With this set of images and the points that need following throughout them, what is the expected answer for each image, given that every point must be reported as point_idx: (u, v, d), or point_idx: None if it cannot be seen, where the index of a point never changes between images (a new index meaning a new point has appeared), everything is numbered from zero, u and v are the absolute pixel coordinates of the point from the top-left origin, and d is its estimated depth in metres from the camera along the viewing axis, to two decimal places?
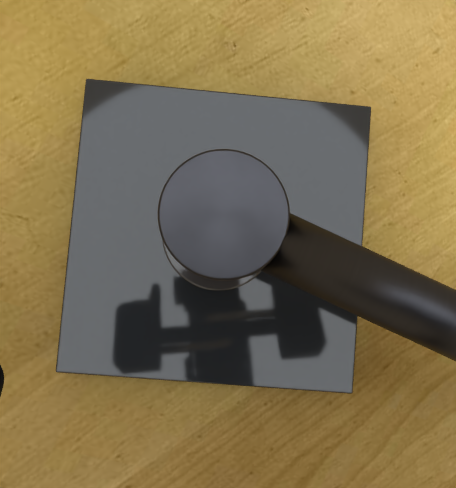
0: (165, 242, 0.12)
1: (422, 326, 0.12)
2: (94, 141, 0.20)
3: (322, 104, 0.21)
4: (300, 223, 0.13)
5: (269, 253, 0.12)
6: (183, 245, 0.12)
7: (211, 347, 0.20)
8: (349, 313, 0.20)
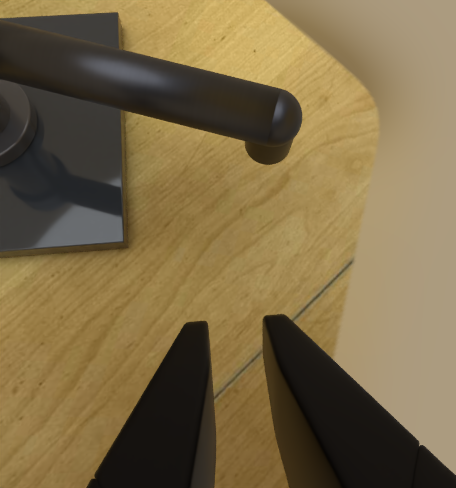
0: None
1: (40, 59, 0.15)
2: None
3: (75, 15, 0.25)
4: None
5: None
6: None
7: None
8: (113, 172, 0.22)
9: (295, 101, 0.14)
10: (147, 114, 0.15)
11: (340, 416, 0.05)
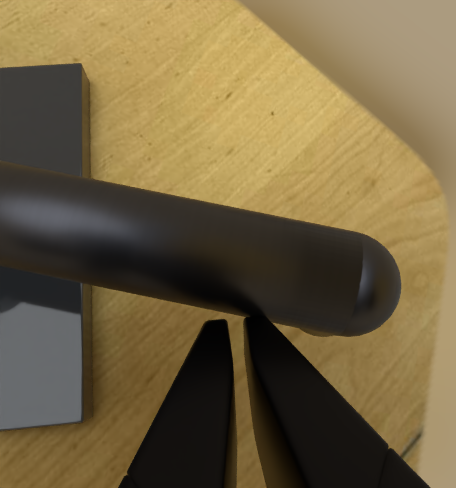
0: None
1: None
2: None
3: (21, 68, 0.18)
4: None
5: None
6: None
7: None
8: (70, 309, 0.15)
9: (391, 262, 0.08)
10: (110, 288, 0.08)
11: (311, 418, 0.05)
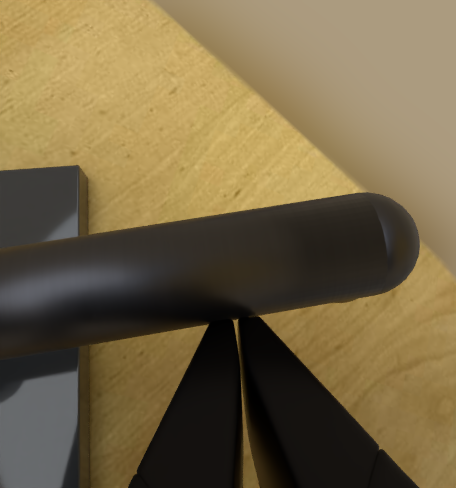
0: None
1: None
2: None
3: (13, 172, 0.16)
4: None
5: None
6: None
7: None
8: (65, 454, 0.14)
9: (402, 209, 0.08)
10: None
11: (303, 420, 0.05)
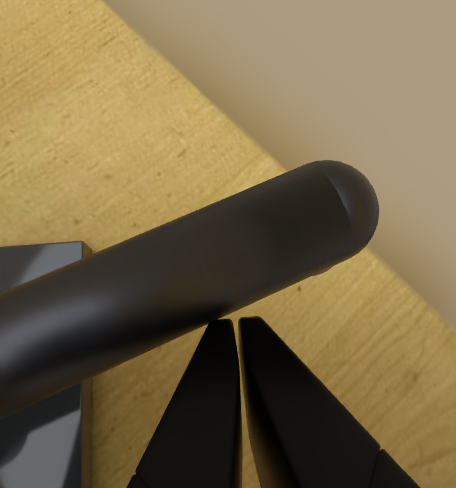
0: None
1: None
2: None
3: (13, 249, 0.15)
4: None
5: None
6: None
7: None
8: None
9: (352, 169, 0.08)
10: (133, 357, 0.08)
11: (304, 419, 0.05)
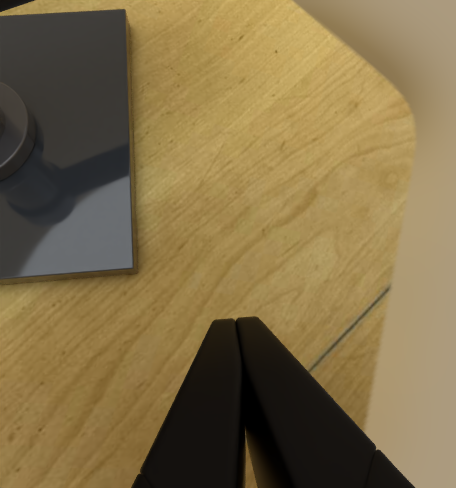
0: None
1: None
2: None
3: (78, 13, 0.22)
4: None
5: None
6: None
7: None
8: (121, 189, 0.20)
9: None
10: None
11: (300, 420, 0.05)
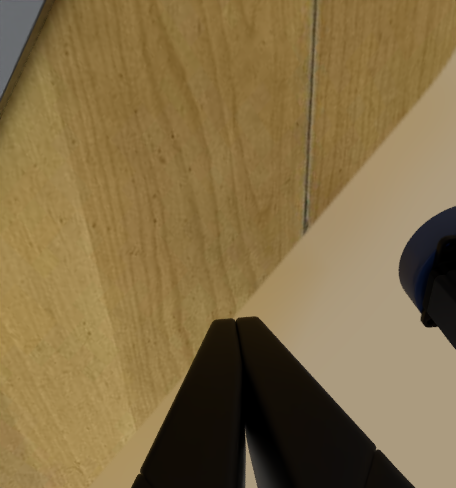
0: None
1: None
2: None
3: None
4: None
5: None
6: None
7: None
8: None
9: None
10: None
11: (300, 420, 0.05)
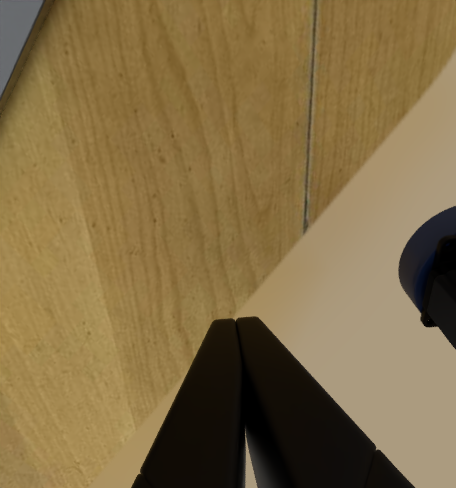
0: None
1: None
2: None
3: None
4: None
5: None
6: None
7: None
8: None
9: None
10: None
11: (300, 420, 0.05)
